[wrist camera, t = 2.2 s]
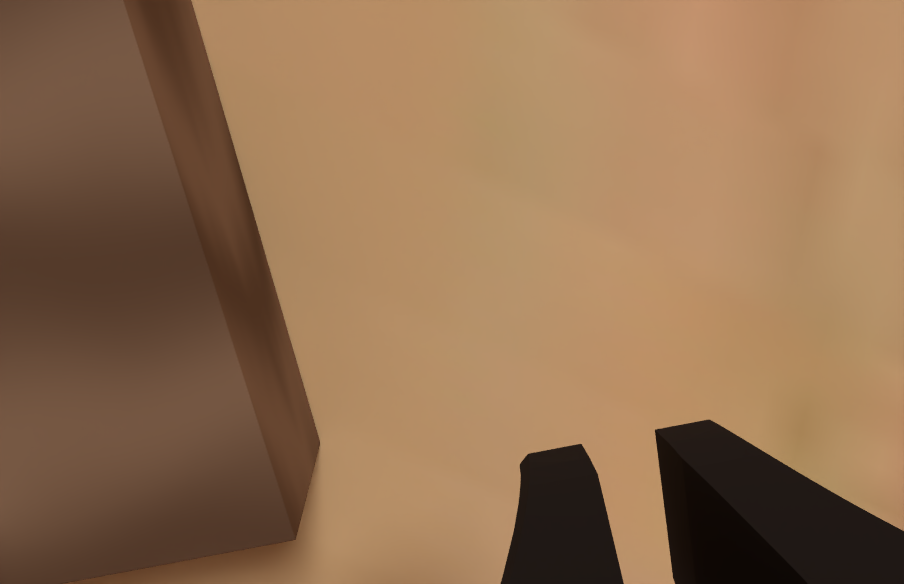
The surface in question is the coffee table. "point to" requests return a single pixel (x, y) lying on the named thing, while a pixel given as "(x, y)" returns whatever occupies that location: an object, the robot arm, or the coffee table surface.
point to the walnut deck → (133, 306)
